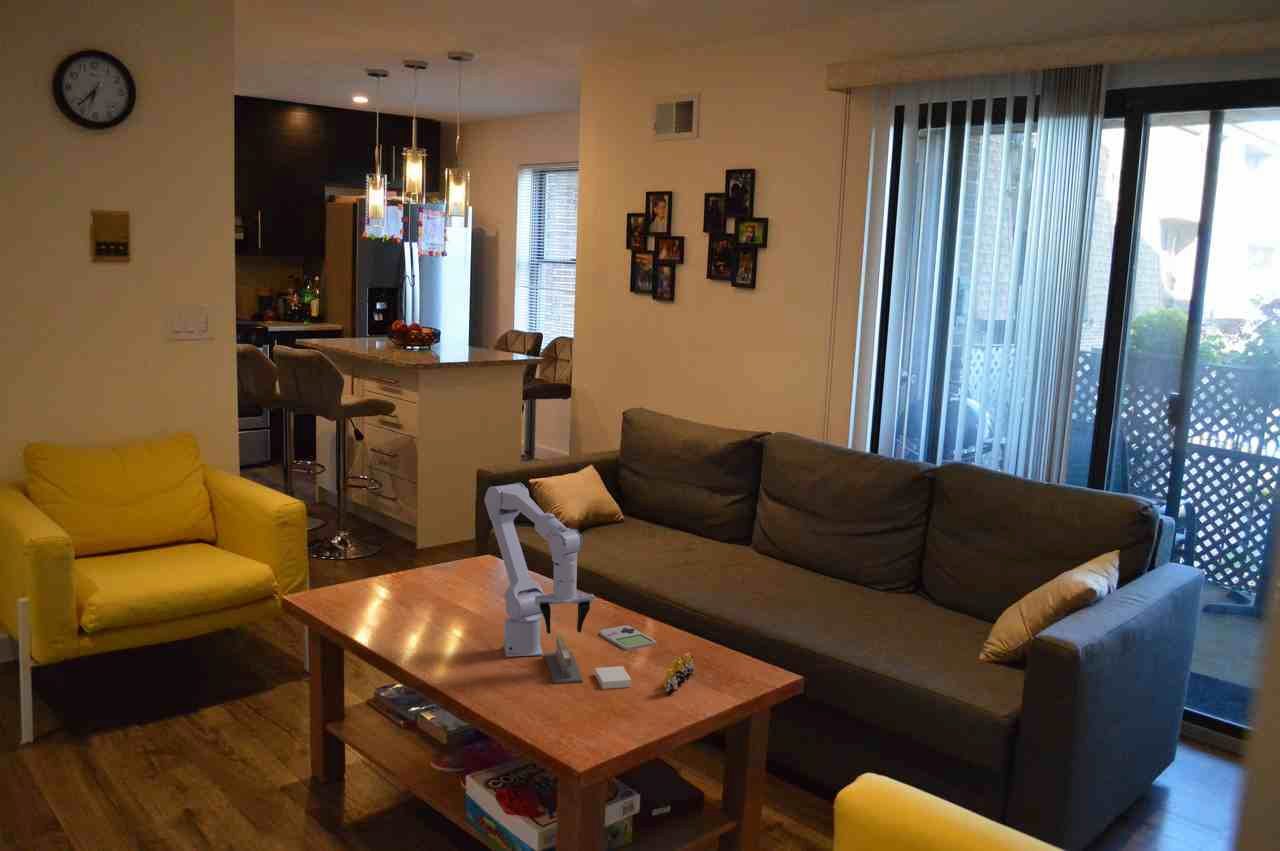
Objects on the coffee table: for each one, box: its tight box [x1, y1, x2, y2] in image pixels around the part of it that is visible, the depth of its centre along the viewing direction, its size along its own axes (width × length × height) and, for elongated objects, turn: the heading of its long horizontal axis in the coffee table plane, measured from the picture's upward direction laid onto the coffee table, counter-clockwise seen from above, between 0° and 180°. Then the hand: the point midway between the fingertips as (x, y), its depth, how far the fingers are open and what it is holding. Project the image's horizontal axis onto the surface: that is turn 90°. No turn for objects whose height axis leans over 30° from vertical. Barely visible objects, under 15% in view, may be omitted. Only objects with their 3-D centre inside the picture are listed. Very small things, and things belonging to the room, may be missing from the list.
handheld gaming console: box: [599, 625, 657, 651], centre depth 283 cm, size 10×2×15 cm
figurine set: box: [663, 651, 695, 697], centre depth 252 cm, size 3×16×7 cm, turn 157°
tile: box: [594, 665, 632, 690], centre depth 253 cm, size 7×2×9 cm
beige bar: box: [555, 635, 571, 678], centre depth 260 cm, size 2×16×5 cm, turn 12°
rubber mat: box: [544, 651, 584, 685], centre depth 260 cm, size 7×19×1 cm, turn 12°
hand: (563, 631), depth 259 cm, fingers open, 7 cm apart
